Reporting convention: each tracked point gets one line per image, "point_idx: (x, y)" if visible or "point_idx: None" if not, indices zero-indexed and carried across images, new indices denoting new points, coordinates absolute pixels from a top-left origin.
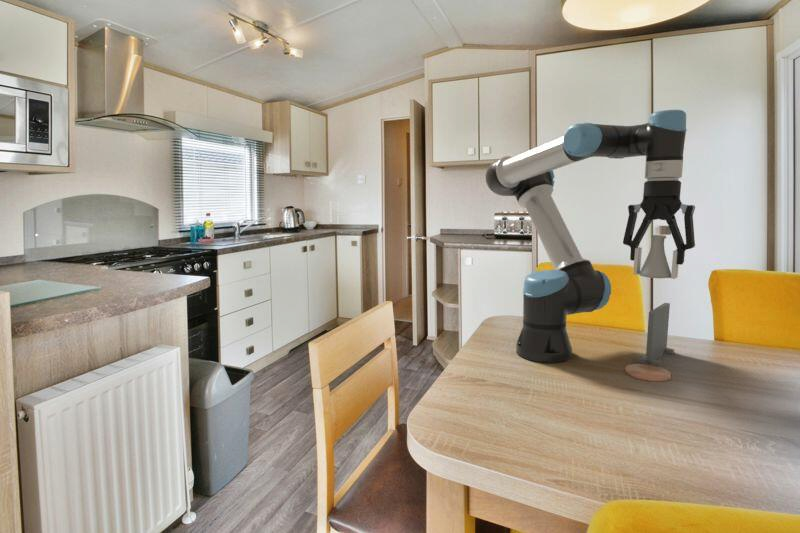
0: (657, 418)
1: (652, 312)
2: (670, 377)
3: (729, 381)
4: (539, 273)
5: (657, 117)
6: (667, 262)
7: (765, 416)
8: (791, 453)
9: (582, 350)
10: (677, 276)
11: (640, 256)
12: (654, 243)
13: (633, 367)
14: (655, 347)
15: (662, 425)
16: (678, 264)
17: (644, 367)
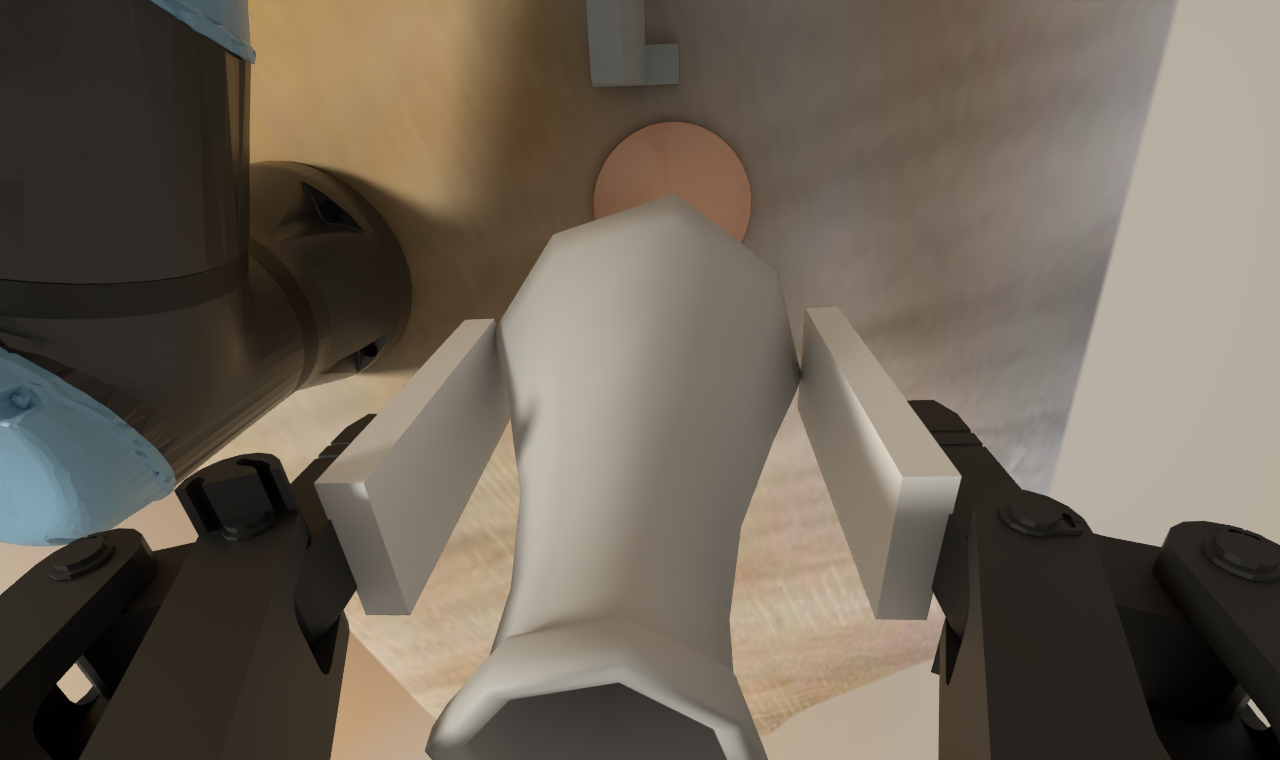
0: (782, 495)
1: (611, 74)
2: (750, 200)
3: (946, 55)
4: None
5: None
6: (769, 448)
7: (1028, 316)
8: (1049, 477)
9: (366, 116)
10: (839, 312)
11: (432, 435)
12: (596, 687)
13: (617, 204)
14: (640, 9)
15: (798, 517)
16: (878, 369)
17: (648, 173)
